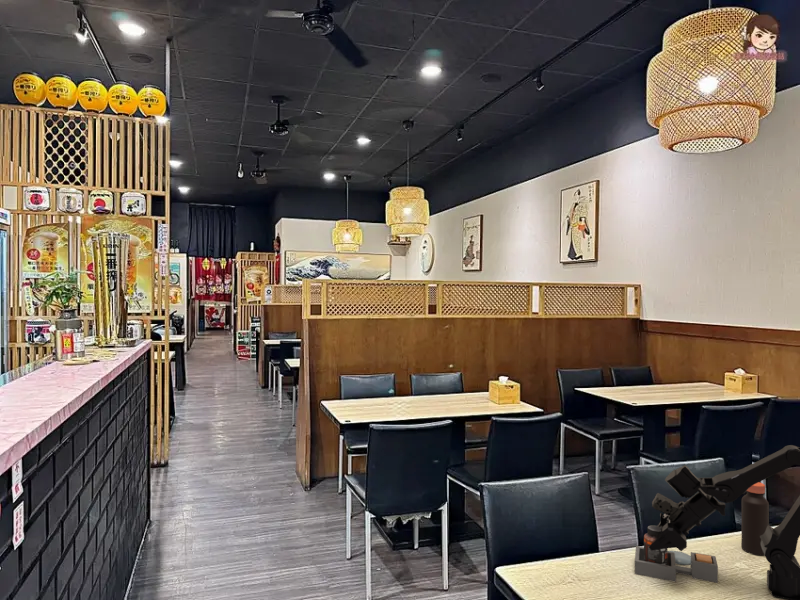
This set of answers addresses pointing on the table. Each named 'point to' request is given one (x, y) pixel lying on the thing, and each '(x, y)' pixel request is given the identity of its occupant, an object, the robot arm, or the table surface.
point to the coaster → (681, 558)
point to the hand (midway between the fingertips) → (650, 544)
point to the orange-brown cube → (703, 558)
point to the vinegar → (754, 518)
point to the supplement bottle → (654, 555)
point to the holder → (676, 567)
